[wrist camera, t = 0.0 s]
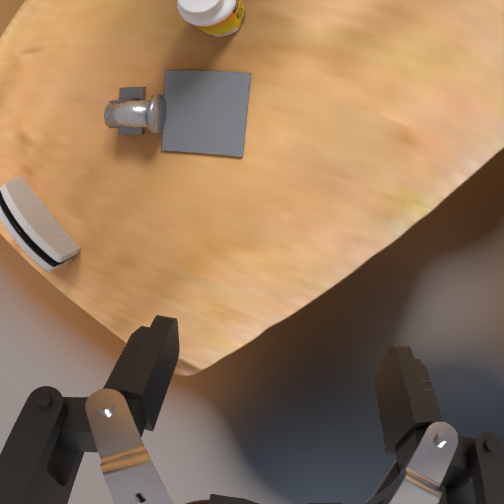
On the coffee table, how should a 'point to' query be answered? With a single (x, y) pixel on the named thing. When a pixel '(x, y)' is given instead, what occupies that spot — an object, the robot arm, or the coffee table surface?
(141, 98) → the shaft stub
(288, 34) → the coffee table surface
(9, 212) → the grey rounded slab
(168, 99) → the plate
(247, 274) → the coffee table surface
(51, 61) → the coffee table surface
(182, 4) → the supplement bottle
